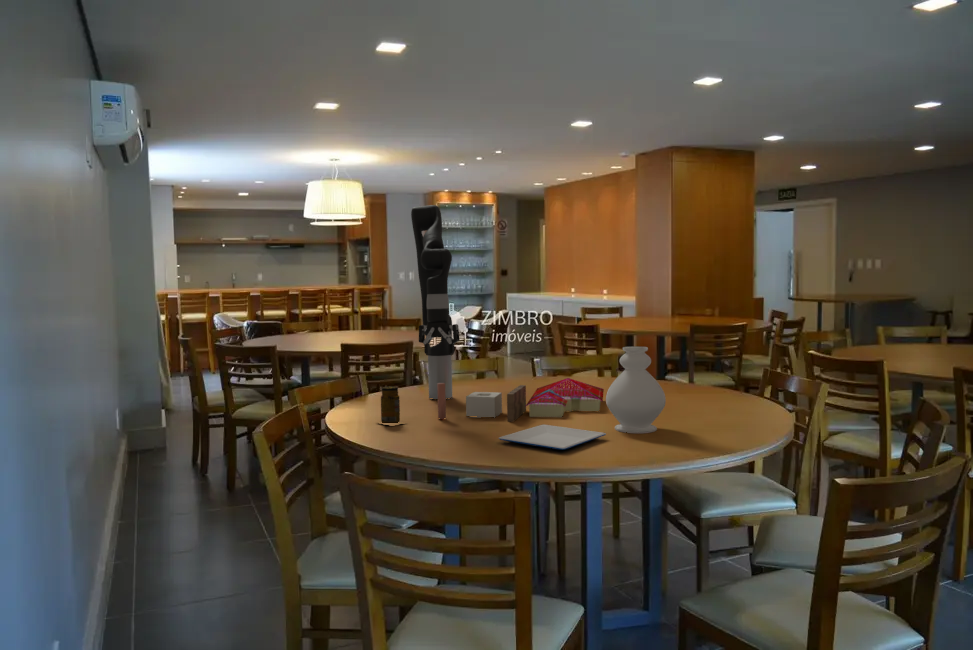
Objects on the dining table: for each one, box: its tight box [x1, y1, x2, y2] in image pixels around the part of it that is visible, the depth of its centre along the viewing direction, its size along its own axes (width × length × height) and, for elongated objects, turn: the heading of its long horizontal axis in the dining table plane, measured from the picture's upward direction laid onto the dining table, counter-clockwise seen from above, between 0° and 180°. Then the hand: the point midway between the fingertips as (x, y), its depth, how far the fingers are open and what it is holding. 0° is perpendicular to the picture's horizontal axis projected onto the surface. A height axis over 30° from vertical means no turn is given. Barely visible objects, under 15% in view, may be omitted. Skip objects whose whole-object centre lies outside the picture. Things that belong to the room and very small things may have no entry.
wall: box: [506, 384, 527, 423], centre depth 248 cm, size 20×2×9 cm, turn 165°
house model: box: [526, 377, 605, 418], centre depth 262 cm, size 38×25×10 cm
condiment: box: [380, 385, 401, 423], centre depth 239 cm, size 7×8×12 cm
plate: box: [498, 424, 607, 451], centre depth 209 cm, size 22×22×2 cm
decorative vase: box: [605, 346, 667, 434], centre depth 223 cm, size 18×18×25 cm
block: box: [465, 391, 503, 419], centre depth 251 cm, size 10×10×7 cm
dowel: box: [437, 383, 447, 419], centre depth 245 cm, size 3×3×12 cm
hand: (439, 355), depth 249 cm, fingers open, 8 cm apart
